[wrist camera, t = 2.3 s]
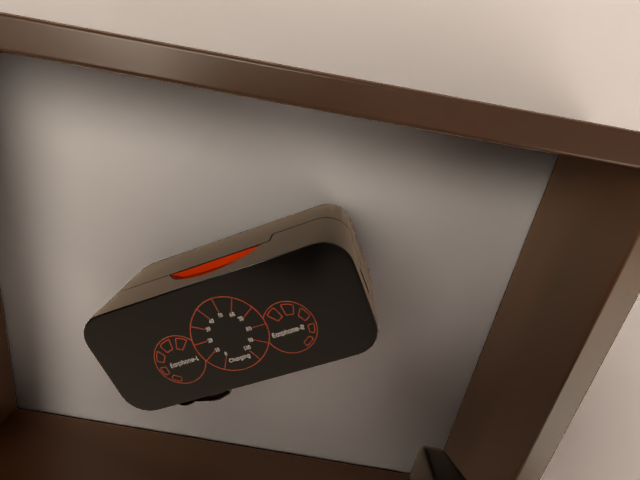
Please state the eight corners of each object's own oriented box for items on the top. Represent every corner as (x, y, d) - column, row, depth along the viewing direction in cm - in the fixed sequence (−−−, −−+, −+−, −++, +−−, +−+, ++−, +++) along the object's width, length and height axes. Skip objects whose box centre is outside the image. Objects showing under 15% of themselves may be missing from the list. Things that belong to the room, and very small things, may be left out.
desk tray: (443, 491, 15) (472, 606, 12) (3, 417, 14) (-95, 514, 11) (595, 125, 10) (719, 146, 7) (-63, 2, 10) (-269, -38, 6)
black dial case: (117, 270, 12) (42, 334, 9) (342, 192, 11) (343, 234, 8) (188, 388, 14) (144, 475, 11) (392, 330, 12) (410, 410, 9)
